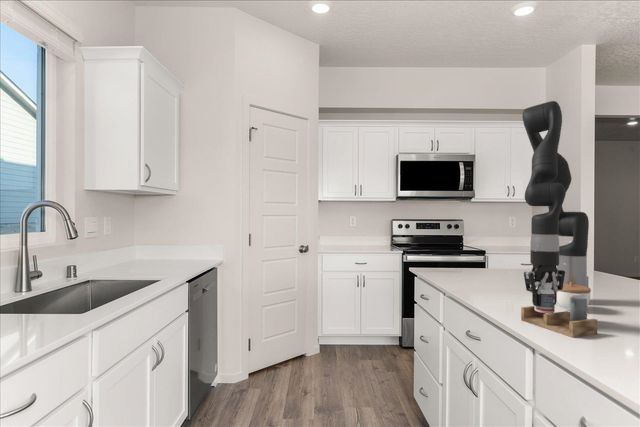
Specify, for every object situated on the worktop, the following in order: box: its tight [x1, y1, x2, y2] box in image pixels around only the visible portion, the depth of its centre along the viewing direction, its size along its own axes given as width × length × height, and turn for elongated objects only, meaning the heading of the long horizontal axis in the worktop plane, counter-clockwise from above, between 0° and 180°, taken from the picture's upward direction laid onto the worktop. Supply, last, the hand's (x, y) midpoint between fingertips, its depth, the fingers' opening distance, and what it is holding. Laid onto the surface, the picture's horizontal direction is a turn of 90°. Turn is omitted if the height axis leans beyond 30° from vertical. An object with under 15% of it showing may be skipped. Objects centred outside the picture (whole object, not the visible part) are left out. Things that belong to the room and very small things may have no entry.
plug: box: [569, 294, 588, 321], centre depth 117 cm, size 4×4×8 cm
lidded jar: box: [556, 282, 592, 312], centre depth 131 cm, size 11×11×9 cm
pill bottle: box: [534, 282, 556, 314], centre depth 116 cm, size 5×5×9 cm
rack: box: [520, 305, 598, 338], centre depth 112 cm, size 9×17×4 cm, turn 18°
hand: (544, 304), depth 116 cm, fingers closed on pill bottle, 5 cm apart
